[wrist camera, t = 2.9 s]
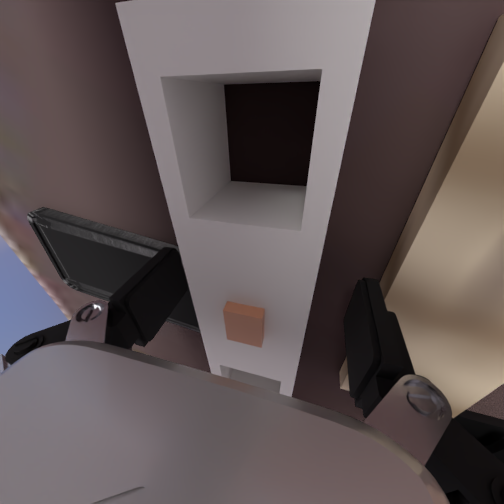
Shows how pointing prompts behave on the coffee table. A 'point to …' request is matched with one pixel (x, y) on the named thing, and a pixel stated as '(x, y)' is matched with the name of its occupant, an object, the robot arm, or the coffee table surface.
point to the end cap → (484, 431)
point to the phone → (101, 257)
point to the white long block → (218, 165)
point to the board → (457, 249)
